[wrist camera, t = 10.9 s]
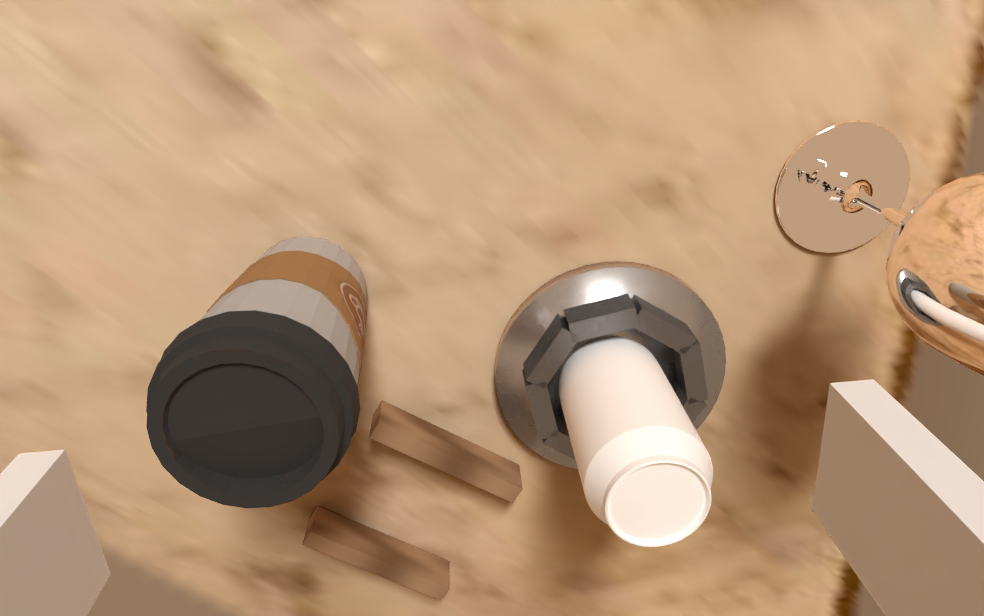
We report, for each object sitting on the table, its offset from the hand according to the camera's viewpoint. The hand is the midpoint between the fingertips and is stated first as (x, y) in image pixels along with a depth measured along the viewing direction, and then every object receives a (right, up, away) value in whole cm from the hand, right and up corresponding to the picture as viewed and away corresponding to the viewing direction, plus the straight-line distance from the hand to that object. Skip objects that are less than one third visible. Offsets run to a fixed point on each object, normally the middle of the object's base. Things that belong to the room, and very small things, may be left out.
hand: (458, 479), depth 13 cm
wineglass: (+20, +10, +28) cm, 36 cm away
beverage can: (+7, -1, +31) cm, 32 cm away
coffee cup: (-10, +4, +29) cm, 31 cm away
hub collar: (+8, -1, +32) cm, 33 cm away
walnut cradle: (-5, -9, +35) cm, 37 cm away
